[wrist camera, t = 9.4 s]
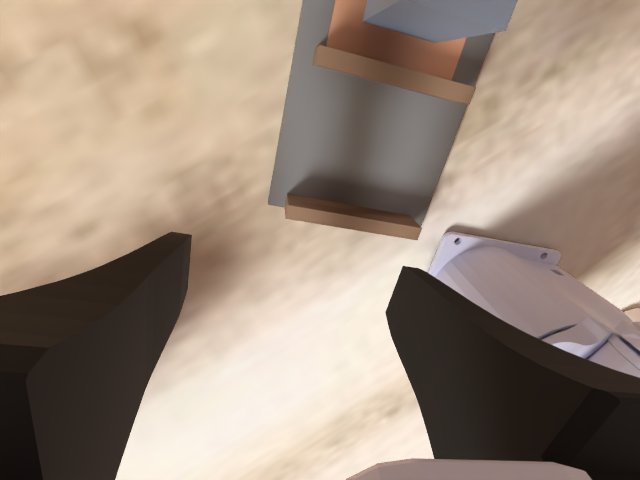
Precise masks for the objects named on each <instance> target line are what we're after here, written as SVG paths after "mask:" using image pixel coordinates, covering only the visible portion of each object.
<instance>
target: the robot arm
mask: <svg viewBox="0 0 640 480" xmlns="http://www.w3.org/2000/svg"><path fill="white" fill-rule="evenodd" d="M191 238H192V235H189V234H182V233H175V232H170V233H168V234H166V235H164V236H162V237H160V238H158V239H156V240H154V241H152V242H150V243H149V244H147V245H145V246H143V247H141V248H139V249H137V250H135V251H133V252H131V253H129V254H127V255H125V256H122V257H120V258H118V259H116V260H113V261H111V262H109V263H107V264H105V265H102V266H100V267H97V268H95V269H92V270H90V271H87V272H84V273H81V274H79V275H76V276H73V277H70V278H67V279H64V280H60V281H57V282H54V283H50V284H46V285H42V286H39V287H35V288H31V289H27V290H24V291H20V292H16V293H12V294H7V295H2V296H0V480H115V478H116V475H117V472H118V469H119V465H120V462H121V459H122V456H123V453H124V450H125V447H126V444H127V441H128V438H129V435H130V432H131V429H132V426H133V423H134V420H135V417H136V415H137V412H138V409H139V406H140V403H141V400H142V397H143V395H144V392H145V389H146V387H147V384H148V382H149V379H150V377H151V375H152V372H153V370H154V368H155V366H156V364H157V362H158V360H159V358H160V356H161V353H162V351H163V349H164V347H165V345H166V343H167V341H168V339H169V337H170V334H171V332H172V330H173V328H174V326H175V324H176V322H177V319H178V317H179V315H180V312H181V309H182V306H183V302H184V299H185V296H186V292H187V289H188V276H189V263H190V251H191ZM457 238H459V240H458V241H457V242H454V241H455V239H457ZM542 254H543V255H542ZM541 255H542V256H541ZM561 256H562V255H561V253H560V252H559V251H557V250H554V249H549V248H543V247H537V246H532V245H526V244H520V243H514V242H509V241H503V240H497V239H492V238H486V237H480V236H474V235H469V234H463V233H457V232H447V233H445V234H444V235H443V237H442V240H441V242H440V244H439V247H438V249H437V252H436V254H435V256H434V259H433V261H432V264H431V266H430V269H429V271H428V273H427V272H425V271H423V270H421V269H419V268H413V267H406V266H403V267H402V270H401V273H400V275H399V278H398V281H397V283H396V286H395V289H394V291H393V294H392V297H391V299H390V302H389V305H388V307H387V310H386V316H387V321H388V325H389V329H390V333H391V337H392V339H393V342H394V344H395V347H396V349H397V352H398V354H399V357H400V359H401V361H402V364H403V366H404V368H405V371H406V373H407V376H408V378H409V380H410V383H411V385H412V388H413V390H414V392H415V395H416V398H417V400H418V403H419V406H420V409H421V413H422V416H423V419H424V423H425V426H426V429H427V433H428V436H429V440H430V444H431V448H432V451H433V455H434V459H406V460H399V461H392V462H385V463H378V464H376V465H374V466H372V467H370V468H368V469H365V470H363V471H361V472H359V473H357V474H355V475H353V476H351V477H349V478H347V479H346V480H640V322H633V321H632V320H631V319H630V318H629V317H628V316H627V315H626V314H625V313H624V312H623V311H622V310H620V309H619V308H617V307H616V306H614V305H613V304H611V303H610V302H609V301H607V300H606V299H604V298H603V297H601V296H600V295H598V294H597V293H596V292H594V291H593V290H591V289H590V288H588V287H587V286H585V285H584V284H583V283H581V282H580V281H578V280H577V279H575V278H574V277H572V276H571V275H569V274H568V273H567V272H565V271H564V270H562V269H561V268H559V267H558V266H557V264H558V262H559V261H560V259H561Z"/></svg>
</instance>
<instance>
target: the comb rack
mask: <svg viewBox="0 0 640 480" xmlns="http://www.w3.org/2000/svg"><path fill="white" fill-rule="evenodd" d="M366 3H367V0H303V3H302V8H301V14H300V20H299V26H298V32H297V37H296V43H295V49H294V55H293V60H292V66H291V72H290V78H289V84H288V89H287V95H286V101H285V107H284V113H283V118H282V124H281V130H280V136H279V142H278V147H277V153H276V159H275V165H274V170H273V176H272V182H271V188H270V194H269V199H268V205H274V206H279V207H285V216H286V219H292V220H298V221H304V222H310V223H316V224H322V225H328V226H334V227H340V228H346V229H352V230H358V231H364V232H370V233H376V234H382V235H388V236H395V237H401V238H407V239H413V240H418V237H419V234H420V232H421V229H422V228H421V225H422V222H423V220H424V217H425V214H426V212H427V209H428V207H429V204H430V201H431V199H432V196H433V193H434V191H435V188H436V185H437V183H438V180H439V178H440V175H441V172H442V170H443V167H444V164H445V162H446V159H447V157H448V154H449V151H450V149H451V146H452V143H453V141H454V138H455V135H456V133H457V130H458V128H459V125H460V122H461V120H462V117H463V114H464V112H465V109H466V106H467V104H470V101H471V98H472V96H473V93H474V90H475V88H476V87H474V85H475V83H476V80H477V78H478V75H479V72H480V70H481V67H482V64H483V62H484V59H485V56H486V54H487V51H488V49H489V46H490V43H491V41H492V38H493V35H494V33H489V34H484V35H478V36H472V37H467V38H461V39H455V40H450V41H444V42H438V43H434V42H431V41H427V40H424V39H420V38H417V37H413V36H410V35H406V34H403V33H399V32H396V31H392V30H389V29H385V28H382V27H378V26H375V25H372V24H368V23H365V22H362V21H363V16H364V12H365V8H366Z"/></svg>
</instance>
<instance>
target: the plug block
mask: <svg viewBox="0 0 640 480" xmlns="http://www.w3.org/2000/svg"><path fill="white" fill-rule="evenodd" d="M516 3H517V0H367V3H366V8H365V12H364V16H363V21H362V22H365V23H368V24H372V25H375V26H378V27H382V28H385V29H389V30H392V31H396V32H399V33H403V34H406V35H410V36H413V37H417V38H420V39H424V40H427V41H431V42H434V43H438V42H444V41H450V40H455V39H461V38H467V37H472V36H478V35H484V34H489V33H495V32H501V31H506V29H507V26H508V23H509V21H510V18H511V16H512V13H513V10H514V8H515V5H516Z"/></svg>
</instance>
